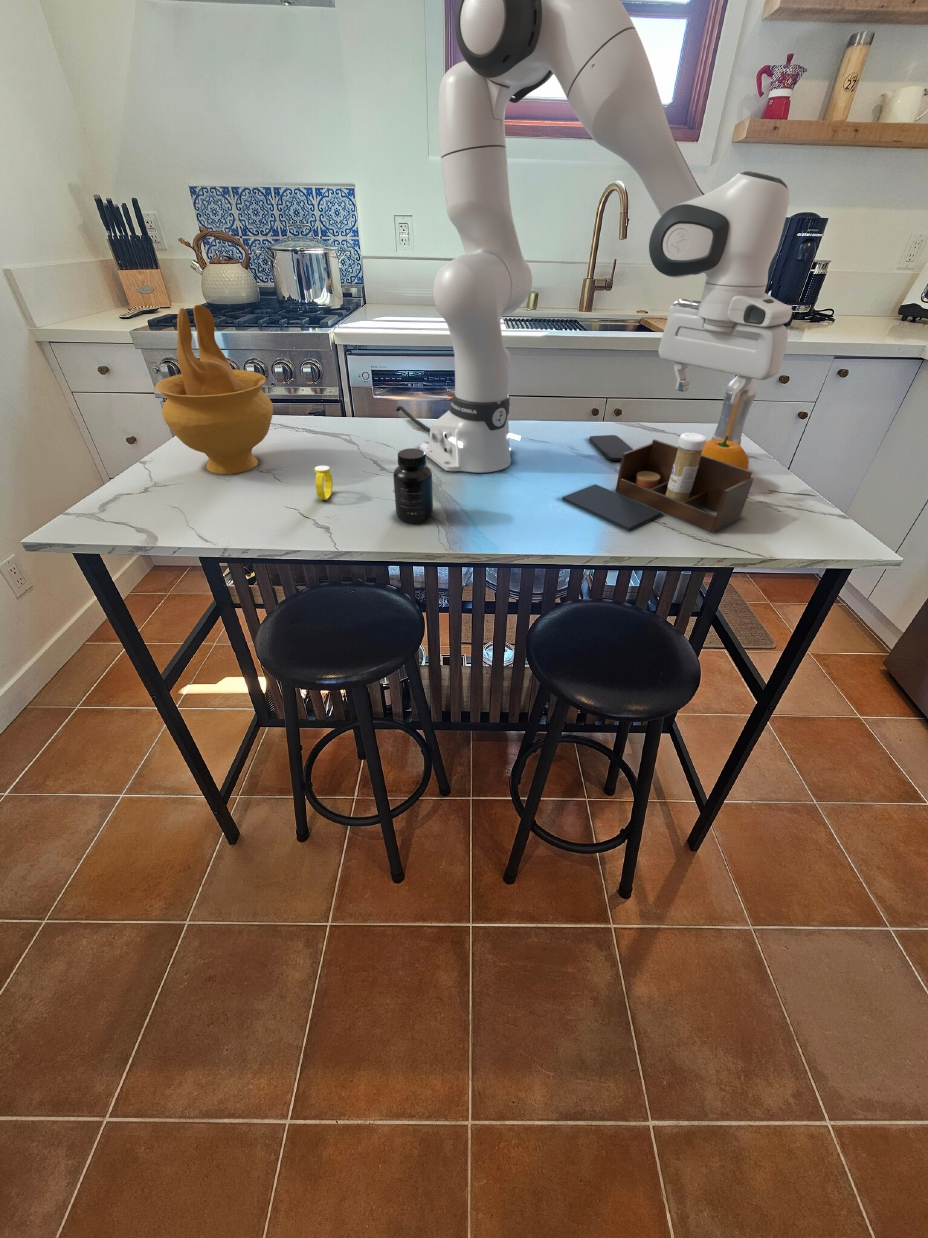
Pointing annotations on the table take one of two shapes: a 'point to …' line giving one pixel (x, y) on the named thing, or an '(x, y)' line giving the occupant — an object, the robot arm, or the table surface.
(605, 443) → the phone
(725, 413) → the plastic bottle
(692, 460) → the sprinkles bottle
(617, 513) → the rubber mat
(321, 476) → the watch
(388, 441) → the table surface
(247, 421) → the decorative bowl
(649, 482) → the spice tin
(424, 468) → the supplement bottle
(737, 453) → the fruit
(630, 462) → the spice rack
